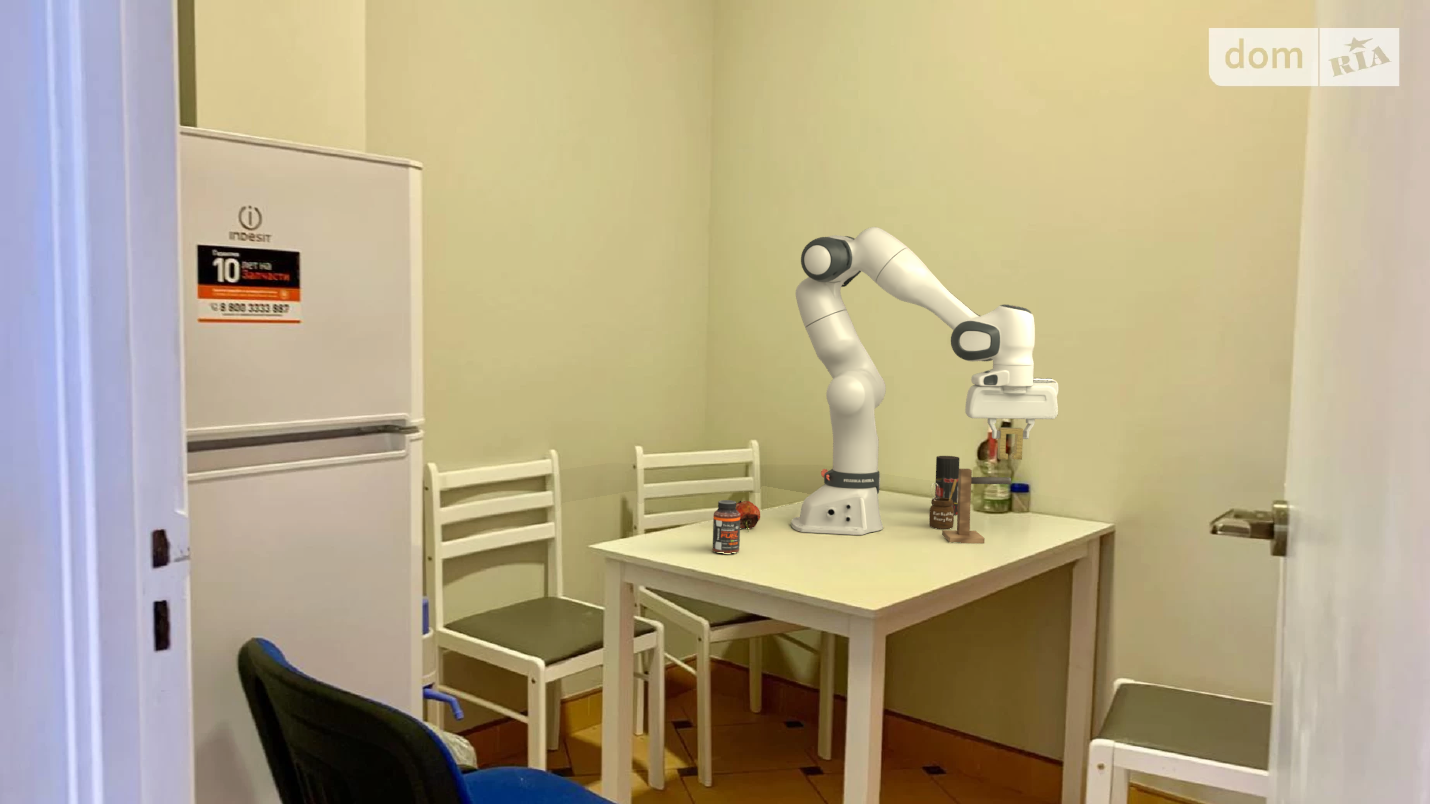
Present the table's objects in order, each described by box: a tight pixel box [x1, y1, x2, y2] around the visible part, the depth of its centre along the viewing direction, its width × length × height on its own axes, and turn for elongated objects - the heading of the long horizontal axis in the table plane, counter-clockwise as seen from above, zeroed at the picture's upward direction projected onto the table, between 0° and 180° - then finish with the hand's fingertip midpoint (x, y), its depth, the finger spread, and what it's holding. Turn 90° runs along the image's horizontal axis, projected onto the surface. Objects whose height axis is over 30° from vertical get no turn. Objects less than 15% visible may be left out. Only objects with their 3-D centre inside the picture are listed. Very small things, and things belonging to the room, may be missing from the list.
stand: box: [941, 468, 1012, 544], centre depth 240 cm, size 15×8×17 cm, turn 90°
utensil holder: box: [928, 479, 957, 530], centre depth 253 cm, size 6×6×12 cm
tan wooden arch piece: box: [996, 427, 1024, 461], centre depth 232 cm, size 2×5×7 cm, turn 91°
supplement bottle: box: [712, 499, 741, 553], centre depth 225 cm, size 6×6×11 cm
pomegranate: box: [736, 500, 761, 533], centre depth 248 cm, size 7×7×10 cm
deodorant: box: [934, 455, 960, 516], centre depth 270 cm, size 6×6×15 cm
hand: (1010, 438), depth 231 cm, fingers closed on tan wooden arch piece, 5 cm apart
